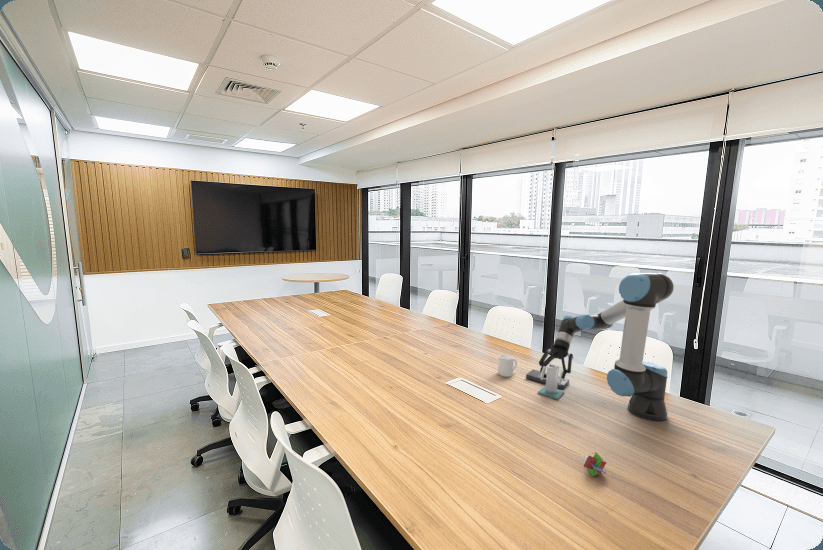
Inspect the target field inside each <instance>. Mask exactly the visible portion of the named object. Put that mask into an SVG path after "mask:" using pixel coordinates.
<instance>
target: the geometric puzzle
mask: <svg viewBox="0 0 823 550" xmlns="http://www.w3.org/2000/svg"><path fill="white" fill-rule="evenodd" d="M593 454H594V455H589V454H584V455H583V457H582V459H581V461H582V462H581V463H582V467H583V468H584V469H586V471H588V473H589V474H590V475H591V476H593V478H595V477H596V474H597V473H598V474H597V476H600V474H602V473H603V474H606V470H605V467H606V465H607V461H605V460H604V459H603V457H601V456H600V455H599V453H597V452H596V451H595V452H593Z"/></svg>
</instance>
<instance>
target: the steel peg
mask: <svg viewBox="0 0 823 550" xmlns="http://www.w3.org/2000/svg"><path fill="white" fill-rule="evenodd" d="M559 371H560V367H559V366H556V365H552V364H548V365H547V366H546V373H547V376H546V384H545V386H546V390H545V392H548V393H551V394H555V393H556V392H557V389H558V388H557V387H558V376H560V374H559Z"/></svg>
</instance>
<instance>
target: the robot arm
mask: <svg viewBox="0 0 823 550" xmlns="http://www.w3.org/2000/svg"><path fill="white" fill-rule="evenodd" d="M674 289H675V288H674V282H673V281H672V279H671V278H670V277H669V276H668V275H666V274H664V273H660V272H654V273H653V272H646V273H645V272H644V273H643V272H635V273H631V274H628V275H626V276H624V277H623V278H622V279H621V280H620V282H619V285H618V293H619V294H620V297H621V300H620V301H619V302H617V303H615V304H613V305H611V306H610V307H608V308H606V309H605V310H603V311H601V312H600V313H598V314H588V313H583V314H580V315H577V316H575V317H574V316H573V315H564V316H563V317H562V320H561V321H560V325H559V328H558V331H557V334H556V336H555V340H554V342H553V346H552V347H551V348H548V347H545V349H544V352H543V355H542V356H541V358H540V359H539V361H538V365H539V366H540V369H539V371H540V372H541V375H540V379H541V380H543V377H544V374H545V373H546V372H547V367H548V366H549V365H550V363H552V361H553V360H555V359H558V360H561V365H562V370H561V371H560V374H559V380H558V384H559V385H560V384H561V381H562V379H564V378H566V375H567V374H571V373H572V365H573V364H572V362H573V359H574V355H573V353H569V349H570V346H571V344H572V340H573V337H574V334H575V333H578V332H579V333H580V332H583V331H591V330H594V331H595V330H607V329H610V328H612V327H613V326H614V324H615V323H617V322H619V321H621V320H623V319H624V323H623V324H624V325H623V330H622V336H621V337H622V338H621V345H620V351H619V359H617V360H615V362H614V365H613V366H614V367H613V368H612V369H610V370H609V371H608V372H607V374H606V381H607V384H608V387H610V390H611V391H612V392H613V393H614V394H615V395H618V396H620V397H630V399H629V401H628V402H627V410H628V411H629V413H631V414H632V415H634V416H636V417H639V418H642V419H645V420H646V421H647V420H648V421H654V422H663V421H666V420H667V419H668V411H667V406H666V403H665V398H666V390H667V389H666V388H667V380H668V370H667V368H665V367H664V366H662V365H660V364H657V363H654V362H649V361H645V360H644V354H645V348H646V341H647V335H648V329H649V323H650V315H651V311H652V310H654V309H655V308H656V305H657V304H659V303H661V302H662V301H664V300H666V299H668V298H669V297H671V296H672V294H673V293H674ZM550 353H551V354H550ZM549 354H550V355H549ZM565 358H568V361H567V368H566V362H565V361H566V360H565Z"/></svg>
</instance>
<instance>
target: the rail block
mask: <svg viewBox="0 0 823 550" xmlns="http://www.w3.org/2000/svg"><path fill="white" fill-rule="evenodd" d="M540 375H541V372H540V370H537V369H535V368H534V369H533V368H532V369H531V370H530V371H528V373H526V374H525V379H526V380H530V381H532V382H533V381H534V382H536V383H538V384H539V383H540V384H543V385H546V376H547V372H545V374H544V377H543V380H541V379H540ZM559 377H560V375H558V380H559ZM568 385H570V379H569V378H566V377H565V378H564V379H562V381H561V384H560V385H559V384H558V387H557V389H559V390H564V389H565V388H567V386H568Z"/></svg>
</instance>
